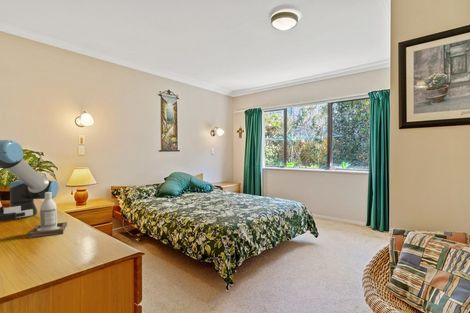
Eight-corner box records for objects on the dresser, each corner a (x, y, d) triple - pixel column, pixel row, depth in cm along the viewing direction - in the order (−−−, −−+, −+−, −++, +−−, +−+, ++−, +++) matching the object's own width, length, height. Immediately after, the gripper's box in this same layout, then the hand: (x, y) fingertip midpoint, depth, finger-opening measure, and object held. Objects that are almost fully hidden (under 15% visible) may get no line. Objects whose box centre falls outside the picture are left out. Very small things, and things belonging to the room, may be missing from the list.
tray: (35, 229, 134) (35, 225, 134) (67, 226, 140) (66, 222, 140) (28, 238, 121) (28, 233, 121) (63, 233, 128) (63, 229, 128)
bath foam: (43, 228, 133) (43, 191, 132) (59, 227, 135) (58, 191, 134) (38, 233, 126) (37, 194, 126) (54, 231, 128) (53, 193, 128)
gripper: (-45, 225, 110) (16, 214, 129) (-26, 235, 98) (38, 221, 116) (-46, 208, 110) (15, 199, 128) (-27, 216, 97) (37, 205, 116)
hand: (26, 210), depth 122 cm, fingers open, 13 cm apart
